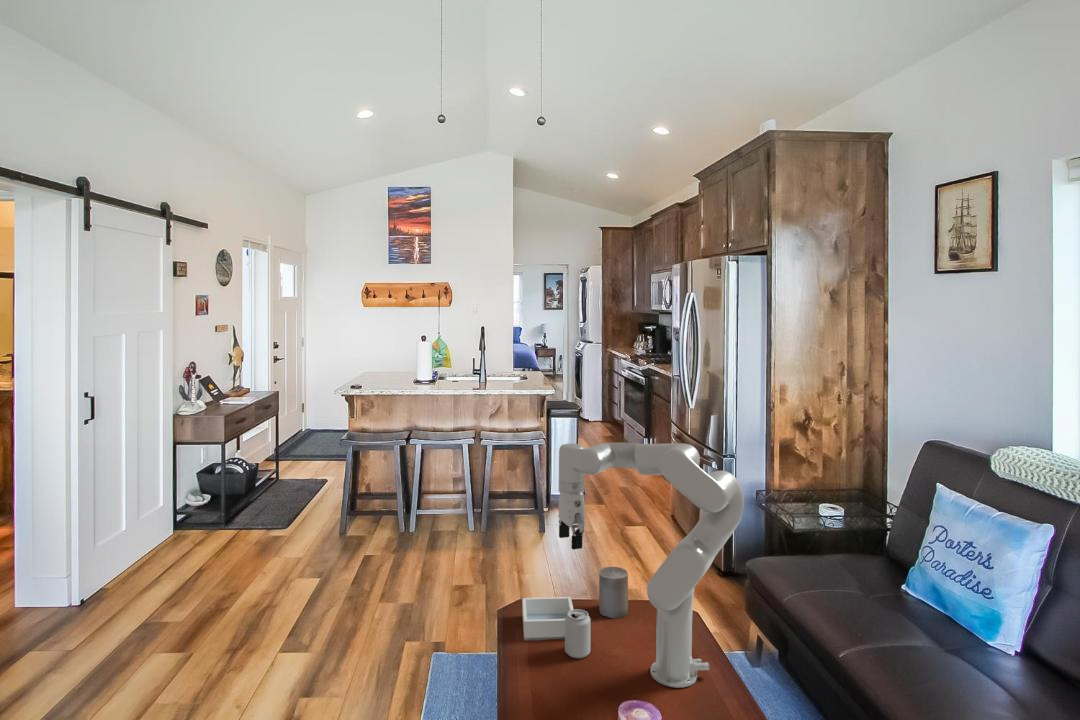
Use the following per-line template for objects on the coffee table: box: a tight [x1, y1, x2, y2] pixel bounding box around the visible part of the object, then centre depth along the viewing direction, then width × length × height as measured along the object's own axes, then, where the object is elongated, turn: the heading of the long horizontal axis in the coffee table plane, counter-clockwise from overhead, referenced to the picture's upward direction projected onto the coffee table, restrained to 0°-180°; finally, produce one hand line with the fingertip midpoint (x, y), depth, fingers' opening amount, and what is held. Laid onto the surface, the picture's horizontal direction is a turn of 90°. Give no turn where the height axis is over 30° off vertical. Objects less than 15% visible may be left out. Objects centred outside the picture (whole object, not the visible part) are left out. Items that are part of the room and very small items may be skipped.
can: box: [564, 608, 592, 659], centre depth 181 cm, size 8×8×12 cm
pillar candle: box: [598, 566, 629, 619], centre depth 207 cm, size 10×10×15 cm
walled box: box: [521, 596, 574, 642], centre depth 197 cm, size 16×16×6 cm
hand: (570, 542), depth 183 cm, fingers open, 9 cm apart
